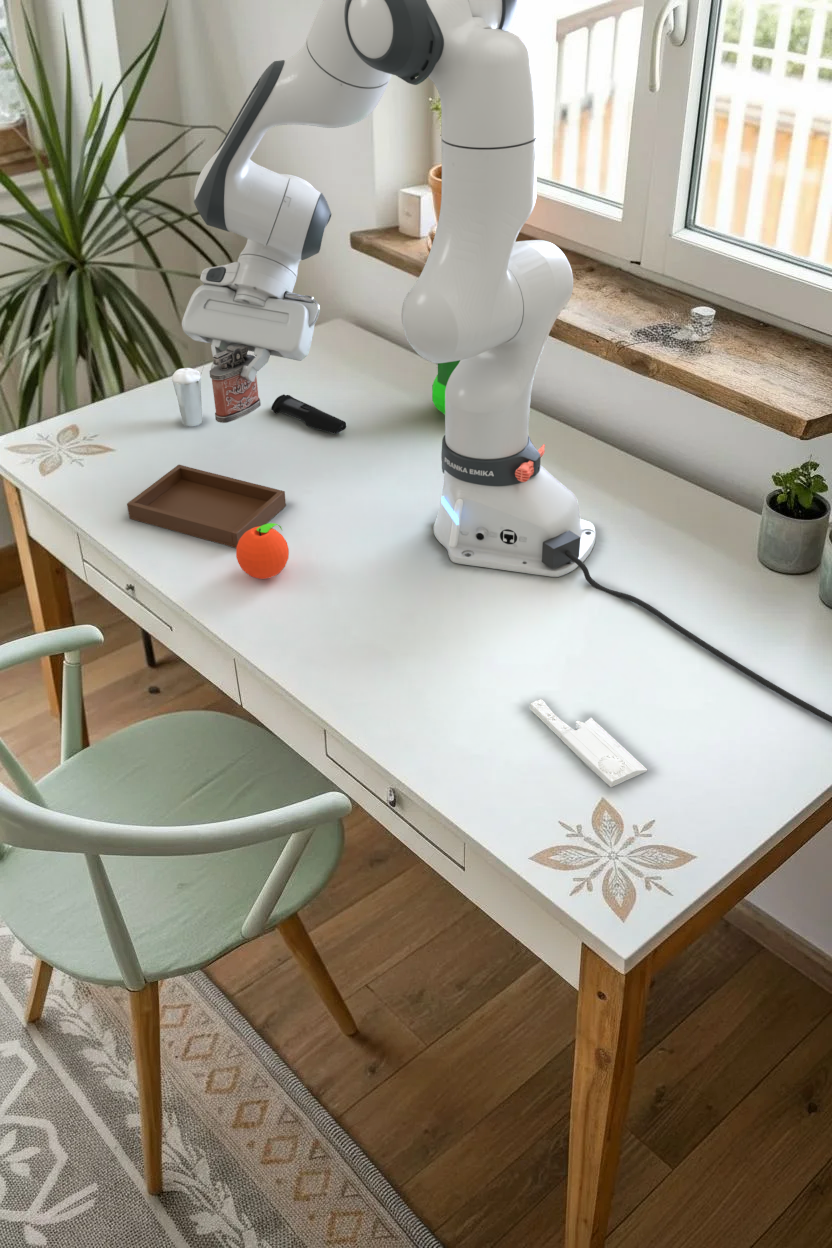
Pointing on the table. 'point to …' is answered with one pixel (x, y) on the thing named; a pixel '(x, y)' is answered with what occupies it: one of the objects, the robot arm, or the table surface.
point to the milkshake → (189, 395)
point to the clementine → (262, 551)
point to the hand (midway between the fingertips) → (231, 376)
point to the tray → (206, 505)
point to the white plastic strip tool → (592, 746)
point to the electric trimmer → (308, 414)
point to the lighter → (233, 385)
